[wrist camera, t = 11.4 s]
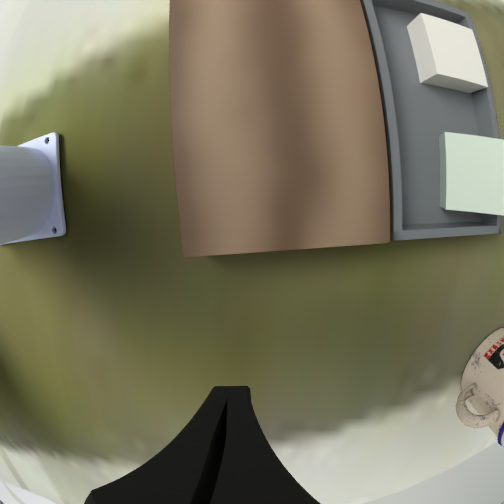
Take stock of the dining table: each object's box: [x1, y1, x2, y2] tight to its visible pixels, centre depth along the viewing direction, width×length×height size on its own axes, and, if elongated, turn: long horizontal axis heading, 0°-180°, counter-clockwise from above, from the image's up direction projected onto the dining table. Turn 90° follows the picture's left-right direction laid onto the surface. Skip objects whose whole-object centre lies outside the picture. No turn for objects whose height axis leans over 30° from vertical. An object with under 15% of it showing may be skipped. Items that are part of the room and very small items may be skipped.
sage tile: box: [439, 132, 504, 216], centre depth 16 cm, size 5×5×2 cm
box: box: [360, 0, 502, 241], centre depth 16 cm, size 10×18×2 cm, turn 4°
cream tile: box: [407, 13, 488, 93], centre depth 14 cm, size 5×5×2 cm
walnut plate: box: [169, 0, 390, 257], centre depth 16 cm, size 12×18×3 cm, turn 5°
